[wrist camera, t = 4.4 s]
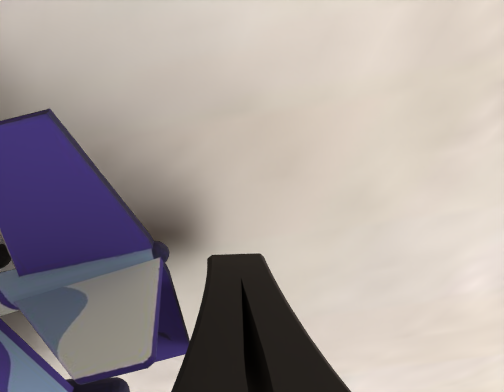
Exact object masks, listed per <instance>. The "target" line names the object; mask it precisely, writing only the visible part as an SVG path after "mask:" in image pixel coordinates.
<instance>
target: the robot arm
mask: <svg viewBox="0 0 504 392" xmlns="http://www.w3.org/2000/svg"><path fill="white" fill-rule="evenodd" d="M171 392H351V391H350V390H349V388H348V387H347V386H346V385H345V384H344V382H343V381H342V380H341V379H340V377H339V376H338V375H337V373H336V372H335V371H334V370H333V368H332V367H331V366H330V364H329V363H328V362H327V360H326V359H325V357H324V356H323V355H322V353H321V352H320V351H319V349H318V348H317V346H316V345H315V344H314V342H313V341H312V339H311V338H310V336H309V335H308V333H307V332H306V330H305V329H304V327H303V326H302V324H301V323H300V321H299V319H298V318H297V316H296V315H295V313H294V312H293V310H292V309H291V307H290V305H289V304H288V302H287V300H286V299H285V297H284V295H283V293H282V292H281V290H280V288H279V286H278V285H277V283H276V281H275V279H274V277H273V275H272V273H271V271H270V269H269V267H268V265H267V263H266V261H265V258H264V257H263V256H262V255H261V254H229V255H212V256H210V257H209V258H208V259H207V278H206V284H205V289H204V294H203V298H202V303H201V306H200V310H199V313H198V317H197V321H196V324H195V328H194V331H193V334H192V337H191V340H190V343H189V346H188V349H187V351H186V354H185V357H184V360H183V363H182V366H181V368H180V371H179V373H178V376H177V379H176V381H175V384H174V386H173V389H172V391H171Z"/></svg>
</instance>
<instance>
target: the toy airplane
mask: <svg viewBox="0 0 504 392" xmlns="http://www.w3.org/2000/svg"><path fill="white" fill-rule="evenodd" d="M0 234H1V236H2V238H3V241H4V243H5V245H4V244H0V269H1V268H3V267H5V266H6V265H7V264H9V262H10V261H11V259H12V261H13V264H14V266H15V268H16V269H14V270H9V271H4V272H0V316H2V315H6V314H9V313H12V312H16V311H19V310H20V311H21V312H22V313H23V315H24V316H25V317H26V318H27V320H28V321H29V322H30V324H31V325H32V326H33V328H34V329H35V330H36V331H37V333H38V334H39V335H40V337H41V338H42V339H43V341H44V342H45V343H46V345H47V346H48V347H49V348H50V350H51V351H52V352H53V354H54V355H55V356H56V358H57V359H58V360H59V362H60V363H61V364H62V365H63V367H64V368H65V369H66V371H67V372H68V373H69V375H70V376H71V377H72V378H73V379H67V380H65V379H64V378H63V377H62V376H61V375H60V374H59V373H58V372H57V371H55V370H54V369H53V368H52V367H51V366H50V365H49V364H48V363H47V362H46V361H45V360H44V359H43V358H42V357H41V356H40V355H39V354H37V353H36V352H35V351H34V350H33V349H32V348H31V347H30V346H29V345H28V344H27V343H26V342H25V341H24V340H23V339H22V338H20V337H19V336H18V335H17V334H16V333H15V332H14V331H13V330H12V329H11V328H10V327H9V326H8V325H7V324H6V323H5V322H3V321H2V320H1V319H0V392H130V390H129V386H128V384H127V382H126V381H124V380H123V379H121V378H118V377H114V376H118V375H122V374H126V373H130V372H134V371H138V370H142V369H146V368H148V367H150V366H151V365H152V364H153V363H154V362H157V361H161V360H165V359H169V358H172V357H176V356H180V355H184V354H186V351H187V349H188V346H189V343H190V340H189V337H188V333H187V330H186V326H185V323H184V320H183V316H182V313H181V309H180V306H179V302H178V299H177V296H176V292H175V289H174V285H173V282H172V278H171V275H170V271H169V269H168V267H167V265H166V264H165V262H166V261H167V259H168V257H169V250H168V247H167V246H166V245H165V244H164V243H162V242H160V241H154V240H153V239H152V237H151V235H150V234H149V233H148V231H147V230H146V229H145V228H144V226H143V225H142V224H141V223H140V221H139V220H138V219H137V218H136V216H135V215H134V214H133V213H132V211H131V210H130V209H129V207H128V206H127V205H126V204H125V202H124V201H123V200H122V199H121V197H120V196H119V195H118V194H117V192H116V191H115V190H114V189H113V187H112V186H111V185H110V184H109V182H108V181H107V180H106V178H105V177H104V176H103V175H102V173H101V172H100V171H99V170H98V168H97V167H96V166H95V165H94V163H93V162H92V161H91V160H90V158H89V157H88V156H87V155H86V153H85V152H84V151H83V149H82V148H81V147H80V146H79V144H78V143H77V142H76V141H75V139H74V138H73V137H72V136H71V134H70V133H69V132H68V131H67V129H66V128H65V127H64V126H63V124H62V123H61V122H60V120H59V119H58V118H57V117H56V115H55V114H54V113H53V112H52V110H51V109H46V110H42V111H38V112H35V113H31V114H27V115H23V116H19V117H15V118H11V119H7V120H3V121H0ZM110 377H114V378H110Z"/></svg>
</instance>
